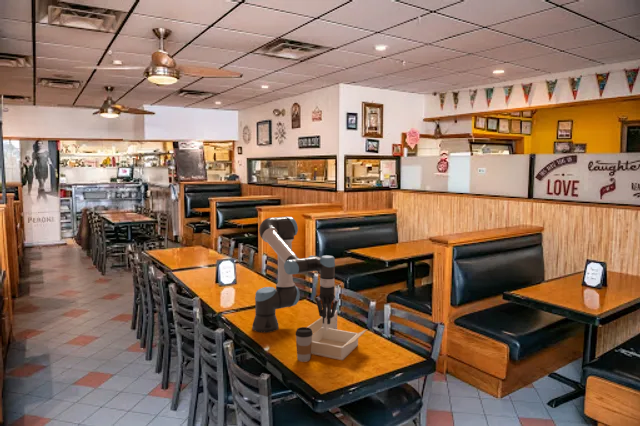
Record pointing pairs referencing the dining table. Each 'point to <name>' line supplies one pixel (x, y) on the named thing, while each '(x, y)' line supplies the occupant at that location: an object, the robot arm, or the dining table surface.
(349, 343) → the flap
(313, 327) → the flap
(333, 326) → the tissue box
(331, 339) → the carton
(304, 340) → the coffee cup
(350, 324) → the dining table surface
